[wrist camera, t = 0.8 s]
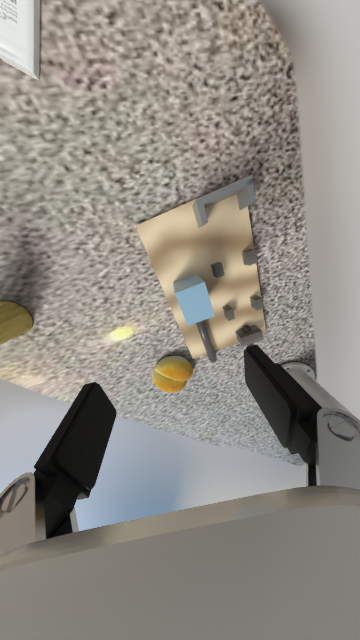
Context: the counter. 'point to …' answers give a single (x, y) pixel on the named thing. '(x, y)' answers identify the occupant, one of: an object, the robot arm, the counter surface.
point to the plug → (196, 307)
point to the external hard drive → (20, 35)
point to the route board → (210, 270)
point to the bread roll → (172, 373)
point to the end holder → (241, 188)
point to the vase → (13, 321)
